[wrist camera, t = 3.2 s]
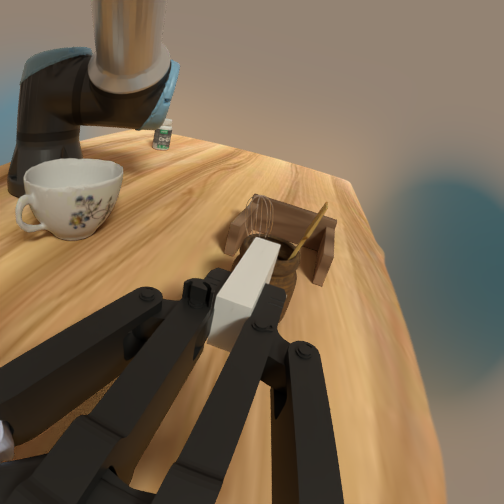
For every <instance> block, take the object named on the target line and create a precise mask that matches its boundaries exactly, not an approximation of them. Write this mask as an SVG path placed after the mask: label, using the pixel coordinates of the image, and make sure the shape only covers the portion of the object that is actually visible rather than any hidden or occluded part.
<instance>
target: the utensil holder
mask: <svg viewBox="0 0 504 504" xmlns="http://www.w3.org/2000/svg"><path fill="white" fill-rule="evenodd" d="M256 196H257V197H258V196H259V198H260V196H261V197H262V196H263V195H256ZM256 196H253V197H254V198H256ZM263 197H264V196H263ZM263 197H262V198H263ZM251 198H252V197H251ZM251 198H250V199H251ZM265 198H266V196H265ZM250 199H249V200H250ZM263 199H264V198H263ZM267 199H268V198H267ZM249 200H248V201H249ZM252 200H254V199H252ZM268 200H269V199H268ZM264 201H265V199H264ZM251 202H252V204H253V201H251ZM251 202H250V203H251ZM258 202H259V199H258ZM269 202H271V201H270V200H269ZM247 203H248V202H247ZM265 203H266V201H265ZM271 204H272V203H270V218H271ZM249 205H250V204H249ZM266 206H267V204H266ZM246 207H247V204H246ZM272 207H273V205H272ZM248 208H249V206H248ZM257 208H258V204H257ZM327 209H328V202H326V203H325V204H324V206H323V207H322V208H321V210H320V211H319V213H318V214H317V216H316V217H315V218H314V220H313V221H312V223H311V224H310V225H309V227H308V228H307V230H306V232H305V234H304V236H303V238H302V239H301V241H300V242H299V244H298V245H297V247H295V246H294V245H293V244H292V243H290V242H288V241H287V240H285V239H282V238H280V237H277V236H273V235H270V234H267V233H265V234H253V231H252V235H249V234H248V229H246V231H247V234H248V236H247V237H246V238H245V239H244V240H243V242H242V245H241V247H240V254H239V255H238V256H237V258H236V259H235V261H234V263H233V265H232V269H231V272H233V270H234V269H235V267H236V266H237V264H238V263H239V262H240V260H241V259H242V257H243V256H244V254H245V253H246V251H247V250H248V248H249V247H250V245H251V244H252V242H253V241H254V239H255V238H256V237H258V238H261V239H264V240H267V241H271V242H274V243H277V244H280V245H281V246H280V249H279V253H278V256H277V259H276V263H275V266H274V269H273V273H272V276H271V279H270V282H269V284H270V285H273V286H276V287H279V288H282V289H284V290H285V293H286V300H285V303H284V306H283V309H282V313H281V316H280V319H279V322H280V321H281V320H282V318H283V316H284V315H285V312H286V310H287V308H288V305H289V302H290V300H291V297H292V294H293V291H294V288H295V285H296V280H297V274H296V270H297V268H298V266H299V262H300V252H299V250H300V248H301V247H302V245H303V244H304V242H305V241H306V239H308V238H309V237H310V236H311V234H312V233H313V231H314V229H315V228H316V226H317V225H318V223H319V221H320V220H321V218H322V217H323V215H324V213H325V212H326V210H327ZM247 218H248V211H247ZM267 218H268V209H267ZM261 220H262V211H261ZM256 222H257V212H256ZM269 225H270V222H269ZM272 225H273V220H272ZM245 226H246V212H245ZM251 227H252V210H251ZM268 229H269V227H268ZM260 230H261V225H260ZM271 230H272V228H271ZM266 231H267V232H268V230H267V226H266ZM270 233H271V231H270ZM279 322H278V323H279Z"/></svg>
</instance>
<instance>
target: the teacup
mask: <svg viewBox="0 0 504 504" xmlns="http://www.w3.org/2000/svg"><path fill="white" fill-rule="evenodd" d="M122 179H123V167H122V166H121V167H120V165H119V164H117V163H114V162H112V161H105V160H99V159H75V158H69V159H57V160H52V161H48V162H43V163H41V164H38V165H37V166H34V167H31V168H30V169H29V170H27V171H26V173H25V175H24V187H25V192H26V195H23V196H21V197H20V198H19V200H18V202H17V205H16V211H15V212H16V222H17V224H18V225H19V227H20V228H21V229H22V230H24V231H26V232H29V233H30V232H35V231H39V230H48V231H50V232H51V233H53V234H54V235H55V236H56V237H58V238H60V239H63V240H69V241H72V240H80V239H84V238H87V237H89V236H91V235H92V234H93V233H94V232H95V231H96V229H97V228H98V227H99V226H100V225H101V224H102V223H103V222H104V221H105V220H106V218H107V217H108V216H109V214H110V213H111V211H112V209H113V207H114V205H115V203H116V201H117V198H118V195H119V192H120V188H121V184H122ZM27 204H29V206H30V208H31V210H32V212H33V214H34V215H35V217H36V218H37V220H38V221H39V222H40V223H41V224H39V225H28V224H26V223H25V222H23V221H22V211H23V208H24V207H25V206H26V205H27Z"/></svg>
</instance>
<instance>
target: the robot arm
mask: <svg viewBox="0 0 504 504" xmlns="http://www.w3.org/2000/svg"><path fill="white" fill-rule="evenodd" d="M91 5H92V17H93V27H94V37H95V46H96V52H95V53H94V54H93V56H92V50H91V49H90V48H87V47H72V48H60V49H53V50H48V51H44V52H41V53H38V54H35V55H33V56H32V57H30V58H29V59H28V60H27V61H26V63H25V66H24V70H23V74H22V78H21V81H20V94H19V104H18V117H17V139H16V147H15V150H14V153H13V157H12V161H11V164H10V168H9V172H8V177H7V183H8V191H9V193H11V194H12V195H14V196H17V197H21V196H23V195H26V192H25V187H24V175H25V173H26V171H27V170H29V169H30V168H31V167H34V166H37V165H38V164H41V163H43V162H48V161H52V160H57V159H69V158H75V159H83V155H82V151H81V147H80V142H79V133H80V125H83V126H103V127H117V128H128V129H135V130H138V131H140V130H156V129H158V128H160V127H161V126H162V125H163V123H164V121H165V118H166V115H167V112H168V109H169V106H170V101H171V98H172V96H173V92H174V89H175V86H176V82H177V78H178V73H179V68H180V65H179V64H178V62H175V61H173V60H170V54H169V51H168V49H167V48H166V46H165V45H164V44H163V43H162V34H163V27H164V20H165V13H166V6H167V0H91ZM280 246H281V245H280V244H277V243H274V242H271V241H267V240H264V239H261V238H258V237H256V238H255V239H254V241H253V242H252V244H251V245H250V247H249V248H248V250H247V251H246V253H245V254H244V256H243V257H242V259H241V260H240V262H239V263H238V264H237V266H236V267H235V269H234V270H233V272H230V271H227V270H224V269H221V268H216V269H214V270H211V271H210V272H209V273H208V275H207V276H206V277H205V278H204V280H203V279H199V278H192V279H188V280H186V281H185V282H184V287H183V295H182V299H181V300H180V301H173V300H166V299H163V296H162V293H161V292H160V291H159V290H157V289H155V288H153V287H140V288H137V289H135V290H134V291H132V292H130V293H128V294H126V295H125V296H123V297H121V298H119V299H118V300H116V301H114V302H112V303H110V304H109V305H107V306H105V307H103V308H102V309H100V310H98V311H96V312H95V313H93V314H91V315H89V316H88V317H86V318H84V319H82V320H81V321H79V322H77V323H75V324H74V325H72V326H70V327H68V328H67V329H65V330H63V331H62V332H60V333H58V334H56V335H55V336H53V337H51V338H50V339H48V340H46V341H44V342H43V343H41V344H39V345H38V346H36V347H34V348H33V349H31V350H29V351H27V352H26V353H24V354H22V355H21V356H19V357H17V358H16V359H14V360H12V361H11V362H9V363H7V364H6V365H4V366H2V367H1V368H0V504H215V502H216V499H217V497H218V494H219V492H220V489H221V487H222V484H223V480H224V477H225V474H226V472H227V469H228V467H229V464H230V461H231V459H232V456H233V454H234V451H235V448H236V446H237V443H238V440H239V438H240V435H241V432H242V429H243V427H244V424H245V421H246V418H247V416H248V413H249V410H250V407H251V404H252V402H253V399H254V396H255V393H256V390H257V387H258V384H259V381H260V380H261V381H263V382H264V383H266V384H267V385H269V386H270V387H271V389H270V399H271V456H272V504H344V499H343V492H342V484H341V477H340V470H339V463H338V456H337V450H336V443H335V437H334V431H333V425H332V419H331V413H330V407H329V401H328V396H327V390H326V384H325V379H324V374H323V368H322V363H321V358H320V354H319V351H318V350H317V349H316V347H315V346H313V345H312V344H310V343H308V342H304V341H295V342H292V343H289V342H287V341H286V340H284V339H283V338H282V337H281V336H280V335H279V333H278V330H277V325H278V322H279V319H280V316H281V313H282V309H283V306H284V303H285V300H286V293H285V290H284V289H282V288H279V287H276V286H273V285H270V284H269V282H270V279H271V276H272V273H273V269H274V266H275V263H276V259H277V256H278V253H279V249H280ZM207 338H208V341H207V344H210V345H212V346H215V347H218V348H220V349H223V350H226V351H228V352H231V353H230V355H229V357H228V359H227V361H226V363H225V365H224V367H223V369H222V371H221V373H220V375H219V377H218V379H217V381H216V384H215V386H214V388H213V390H212V392H211V394H210V396H209V398H208V400H207V402H206V404H205V406H204V408H203V410H202V412H201V414H200V416H199V418H198V420H197V422H196V424H195V426H194V428H193V430H192V432H191V434H190V436H189V438H188V440H187V442H186V444H185V446H184V448H183V450H182V452H181V454H180V456H179V458H178V459H177V461H176V462H175V463H173V465H172V466H171V468H170V469H169V471H168V473H167V475H166V477H165V479H164V481H163V482H162V484H161V486H160V488H159V490H158V492H157V494H153V493H149V492H144V491H140V490H136V489H133V488H131V487H129V486H128V485H129V483H130V482H131V479H132V476H133V472H134V469H135V467H136V465H137V463H138V461H139V460H140V458H141V456H142V455H143V453H144V451H145V450H146V448H147V446H148V444H149V443H150V441H151V439H152V438H153V436H154V434H155V432H156V431H157V429H158V427H159V426H160V424H161V422H162V420H163V419H164V417H165V415H166V414H167V412H168V410H169V408H170V407H171V405H172V403H173V402H174V400H175V398H176V396H177V395H178V393H179V391H180V389H181V388H182V386H183V384H184V383H185V381H186V379H187V377H188V376H189V374H190V372H191V371H192V369H193V367H194V365H195V364H196V362H197V360H198V358H199V357H200V355H201V353H202V351H203V348H204V343H205V341H206V339H207ZM119 375H120V376H119ZM118 376H119V377H118ZM116 377H118V378H117V380H116V381H115V382H114V383H113V385H112V386H111V387H110V389H109V390H108V391H107V392H106V394H105V395H104V396H103V398H102V399H101V400H100V401H99V403H98V404H97V405H96V407H95V408H94V409H93V410H92V412H91V413H90V414H88V415H80V416H78V417H77V418H76V419H75V420H74V421H73V422H72V423H71V425H70V426H69V427H68V428H67V430H66V431H65V432H64V433H63V435H62V436H61V437H60V439H59V440H58V441H57V443H56V444H55V445H54V446H53V448H52V449H51V450H50V452H49V453H48V454H43V455H39V456H34V457H29V458H25V459H20V460H14V461H10V460H12V459H13V457H14V446H18V445H21V444H23V443H25V442H27V441H29V440H31V439H33V438H34V437H36V436H38V435H39V434H41V433H42V432H43V431H45V430H46V429H48V428H49V427H50V426H52V425H53V424H54V423H56V422H57V421H59V420H60V419H61V418H63V417H64V416H65V415H67V414H68V413H69V412H71V411H72V410H73V409H75V408H76V407H78V406H79V405H80V404H82V403H83V402H84V401H86V400H87V399H88V398H90V397H91V396H92V395H94V394H95V393H96V392H98V391H99V390H100V389H102V388H103V387H104V386H106V385H107V384H108V383H110V382H111V381H112V380H114V379H115V378H116ZM4 460H6V461H9V462H3V463H1V462H2V461H4Z"/></svg>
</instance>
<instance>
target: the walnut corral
mask: <svg viewBox="0 0 504 504" xmlns="http://www.w3.org/2000/svg"><path fill="white" fill-rule="evenodd" d="M256 195H258V194H254V195H253V196H256ZM262 197H263V196H262ZM262 197H261V196H260V198H259V196H258V197H257V196H256V198H254V197H252V199H254V200H252V201H253V204H252V202H251V203H250V205H248V206H249V208H248V206H247V207H246V208H245V209H244V210H243V211H242V212H241V213H240V214H239V215H238V216H237V217H236V218H235V219H234V220H233V222H232V223H231V224H230V228H229V233H228V237H227V242H226V246H225V251H224V253H225V254H228V255H230V256H234V255H235V253H236V252H237V251H238V249H239V248H240V246H241V245H242V242H243V240H244V239H245V238H246V237H247V236H248V234H250V233H251V231H252V230H256V231H259V232H262V233H267V234H270V235H273V236H277V237H280V238H282V239H285V240H287V241H289V242H292V243H296V244H299V242H300V241H301V239H302V238H303V236H304V234H305V232H306V230H307V228H308V227H309V225H310V224H311V223H312V221H313V220H314V218H315V217H316V216H317V214H318V213H315V212H312V211H309V210H305V209H302V208H299V207H296V206H293V205H290V204H287V203H284V202H281V201H277V200H274V199H271V198H268V197H266V198H265V196H264V197H263V198H264V199H265V201H266V203H265V201H264V199H263V198H262ZM267 198H268V199H269V200H270V201H271V202H269V200H268V199H267ZM258 199H259V202H258ZM270 203H272V204H271V218H270ZM257 204H258V208H257ZM266 204H267V206H266ZM272 205H273V207H272ZM267 209H268V218H267ZM251 210H252V227H251ZM247 211H248V218H247ZM261 211H262V220H261ZM245 212H246V226H245ZM256 212H257V222H256ZM272 220H273V225H272ZM269 222H270V225H269ZM336 224H337V220H335V219H332V218H329V217H327V216H324V215H323V217H322V218H321V220H320V221H319V223H318V225H317V226H316V228H315V229H314V231H313V233H312V234H311V236H310V237H309V238H308V239H306V241H305V242H304V244H303V245H302V246H305V247H307V248H310V249H313V250H316V251H318V254H317V260H316V266H315V272H314V278H313V284H316V285H319V286H322V285H323V283H324V280H325V278H326V275H327V273H328V270H329V268H330V265H331V263H332V260H333V258H334V235H335V227H336ZM260 225H261V230H260ZM266 226H267V230H268V232H267V231H266ZM268 227H269V229H268ZM271 228H272V230H271ZM246 229H248V234H247V231H246ZM270 231H271V233H270Z"/></svg>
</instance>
